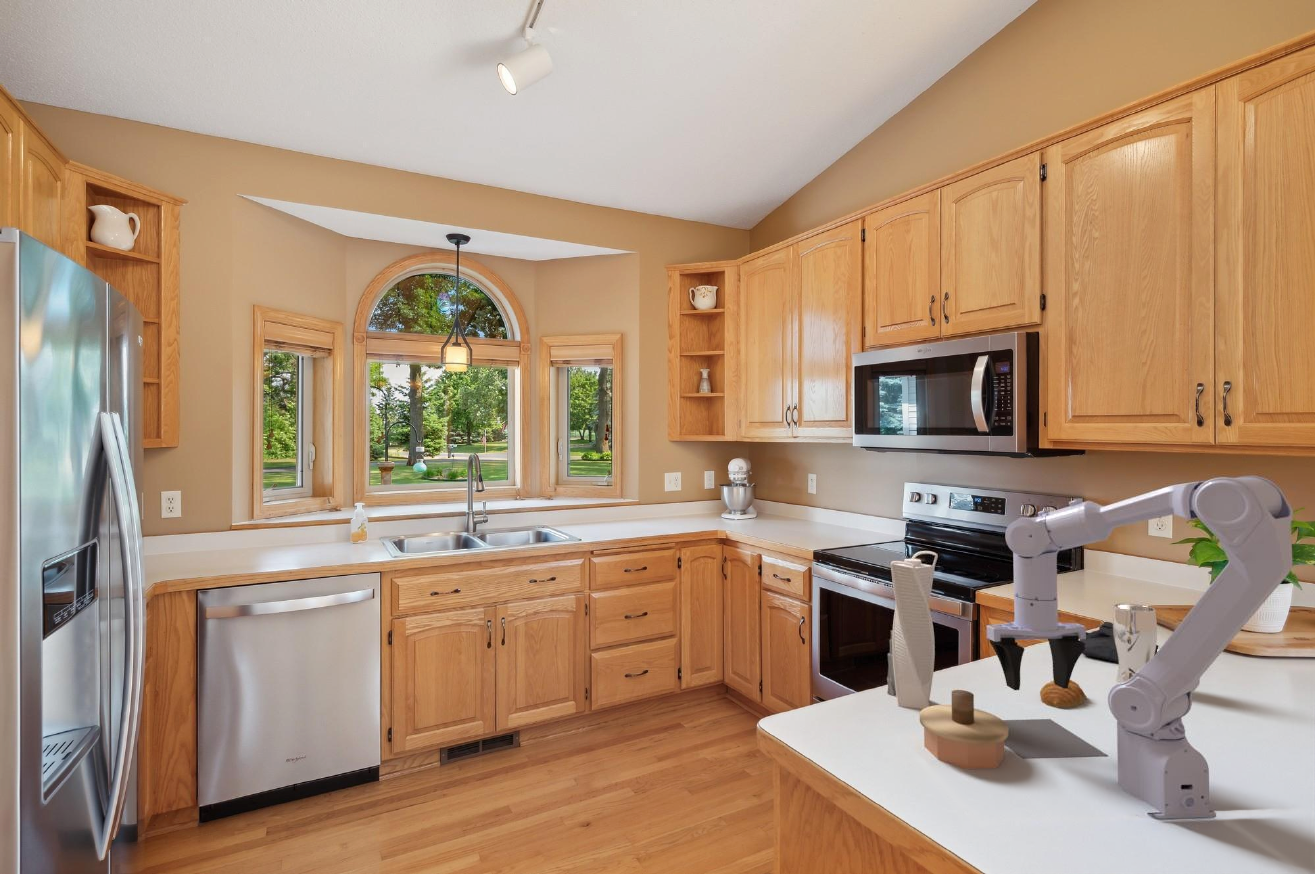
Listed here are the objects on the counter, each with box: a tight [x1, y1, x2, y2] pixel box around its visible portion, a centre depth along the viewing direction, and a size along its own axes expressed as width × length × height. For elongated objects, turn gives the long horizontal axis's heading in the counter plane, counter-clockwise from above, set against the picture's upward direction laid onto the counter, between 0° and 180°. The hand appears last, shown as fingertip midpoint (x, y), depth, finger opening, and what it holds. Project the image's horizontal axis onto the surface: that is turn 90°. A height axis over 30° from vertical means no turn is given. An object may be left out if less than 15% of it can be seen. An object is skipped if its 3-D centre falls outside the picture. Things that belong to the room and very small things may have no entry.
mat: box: [1002, 718, 1109, 760], centre depth 101 cm, size 13×13×1 cm
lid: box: [919, 689, 1009, 744], centre depth 97 cm, size 12×12×5 cm
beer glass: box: [1112, 602, 1158, 684], centre depth 126 cm, size 7×7×15 cm
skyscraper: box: [886, 550, 939, 710], centre depth 116 cm, size 8×8×28 cm
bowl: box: [923, 727, 1005, 770], centre depth 97 cm, size 10×10×4 cm
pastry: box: [1039, 679, 1088, 709], centre depth 117 cm, size 9×7×4 cm
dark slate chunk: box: [1079, 621, 1160, 664], centre depth 148 cm, size 15×22×5 cm
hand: (1037, 686), depth 98 cm, fingers open, 7 cm apart
